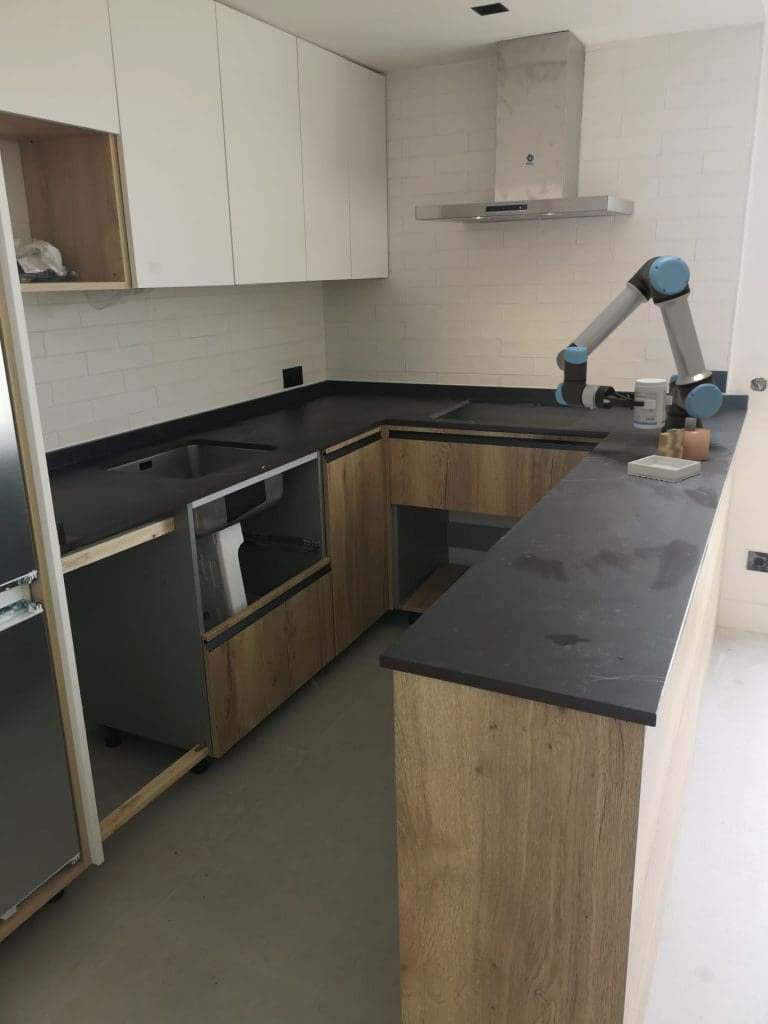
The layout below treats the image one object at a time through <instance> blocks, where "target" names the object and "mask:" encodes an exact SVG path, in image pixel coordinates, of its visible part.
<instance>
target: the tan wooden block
mask: <svg viewBox="0 0 768 1024" xmlns="http://www.w3.org/2000/svg"><path fill="white" fill-rule="evenodd" d="M684 433H685V430H684V429H670V430H667V432H665V433H662V434H660V433H659V436H658V447H657V455H658V456H665V457H671V458H677V459H682V455H683V444H684Z"/></svg>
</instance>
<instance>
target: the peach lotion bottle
mask: <svg viewBox="0 0 768 1024" xmlns="http://www.w3.org/2000/svg"><path fill="white" fill-rule="evenodd" d="M696 419H697V418H694V417H686V420H685V428H682V429H684V430H685V433H684V444H683V455H682V459H684V460H690V461H696V462H703V461H702V460H705V461H707V460H708V458H709V450H710V449H709V448H710V441H711V440H710V438H711V430H710V429H707V428H704V429H702V428H696Z"/></svg>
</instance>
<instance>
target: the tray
mask: <svg viewBox="0 0 768 1024" xmlns="http://www.w3.org/2000/svg"><path fill="white" fill-rule="evenodd" d="M701 463H702V461H690V460H684V459H677V458H671V457H665V456H658V454H653V455H648V456H645V457H643V458H640V459H639V458H638V459H636V460H633V461H630V462H628V463H627V474H626V475H628V474H629V475H630V476H634V475H635V476H634V477H639V476H641V477H640V478H645V477H647V479H650V478H652V479H651V480H656V479H657V480H658V481H661V480H663V481H662V482H667V481H668V483H672V484H675V482H676V483H678V482H680V481H684V480H686V478H687V479H689V478H688V477H690V478H692V477H694V475H695V476H697V474H698V475H700V474H701V466H702V465H701ZM629 475H628V476H629ZM691 476H692V477H691ZM683 479H684V480H683ZM657 480H656V481H657Z"/></svg>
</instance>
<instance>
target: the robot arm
mask: <svg viewBox="0 0 768 1024" xmlns="http://www.w3.org/2000/svg"><path fill="white" fill-rule="evenodd" d="M690 277H691V270H690V267H689V266H688V264H687V263H686V261H685V260H684V259H682V258H680V257H678V256H675V255H669V254H668V255H664V256H663V255H662V256H654V257H652V258H650V259H648V260H647V261H646V262H645V263H643V264H642V266H640V268H639V269H638V270H637V271H636V272H635V273H634V274H633V276H632V277H630V279H629V280H628V281H627V282H626V283H625V288H624V289H623V290H622V291H621V292H620V293H619V294H618V295H617V296H616V297H615V298H614V299H613V300H612V301H611V302H609V303H610V304H608V305H607V306H606V307H605V308H604V309H603V310H602V311H601V312H600V313H599V314H598V316H597V317H595V318H594V319H593V320H592V321H591V323H589V325H588V326H586V327H585V328H584V329H583V331H581V332H580V333H579V334H578V336H576V337H575V338H574V340H573V341H572V342H570V344H569V345H568V346H567V347H566V348H564V349H561V350H560V351H559V352H558V353H557V354H556V359H555V361H556V366H557V367H558V368H559V369H560V371H563V382H560V383H559V384H558V385H557V387H556V391H555V393H554V394H555V399H556V401H557V403H558V404H560V405H565V406H568V407H580V408H589V409H590V410H594V409H600V410H611V408H613V407H618V408H625V409H629V410H631V411H634V406H635V408H645V409H655V406H656V400H647V399H635V401H634V392H629V391H625V392H623V391H618V392H616V390H615V388H614V387H613V386H611V385H600V384H589V383H587V376H588V375H587V373H588V372H587V371H588V359H589V358H588V357H590V355H592V353H593V352H594V351H596V349H597V348H598V347H600V346H601V344H603V343H604V342H605V340H607V338H608V337H609V336H611V334H613V332H615V330H616V329H618V327H619V326H620V325H621V324H622V323H624V321H626V320H627V318H629V317H630V315H632V314H633V313H634V312H635V311H636V310H637V309H638V308H639V307H640V306H641V305H642V304H646V303H648V302H649V301H650V300H651V299H652V303H653V305H654V306H657V307H658V308H659V310H660V313H661V317H662V321H663V324H664V328H665V330H666V334H667V338H668V342H669V345H670V349H671V353H672V356H673V361H674V363H675V367H676V370H677V374H673V375H671V376H670V378H669V382H668V394H667V395H666V408H667V410H666V416H665V425H664V427H662V428H660V429H661V430H660V431H659V434H662V433H665V432H667V430H670V429H682V428H685V420H686V417H694V418H697V419H696V428H702V429H705V428H704V423H703V419H707V418H709V417H711V416H713V415H715V414H716V413H717V412H718V411H719V410H720V408H721V407H722V404H723V399H724V398H723V393H722V391H721V389H720V388H719V387H718V386H717V385H716V383H715V379H714V376H713V375H714V374H713V372H712V371H711V370H709V369H707V368H706V365H705V364H706V363H705V360H704V357H703V354H702V350H701V349H702V348H701V346H700V342H699V338H698V335H697V331H696V328H695V327H696V326H695V323H694V319H693V316H692V313H691V309H690V305H689V301H688V297H689V296H690V294H691V288H690V284H689V282H690Z"/></svg>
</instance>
